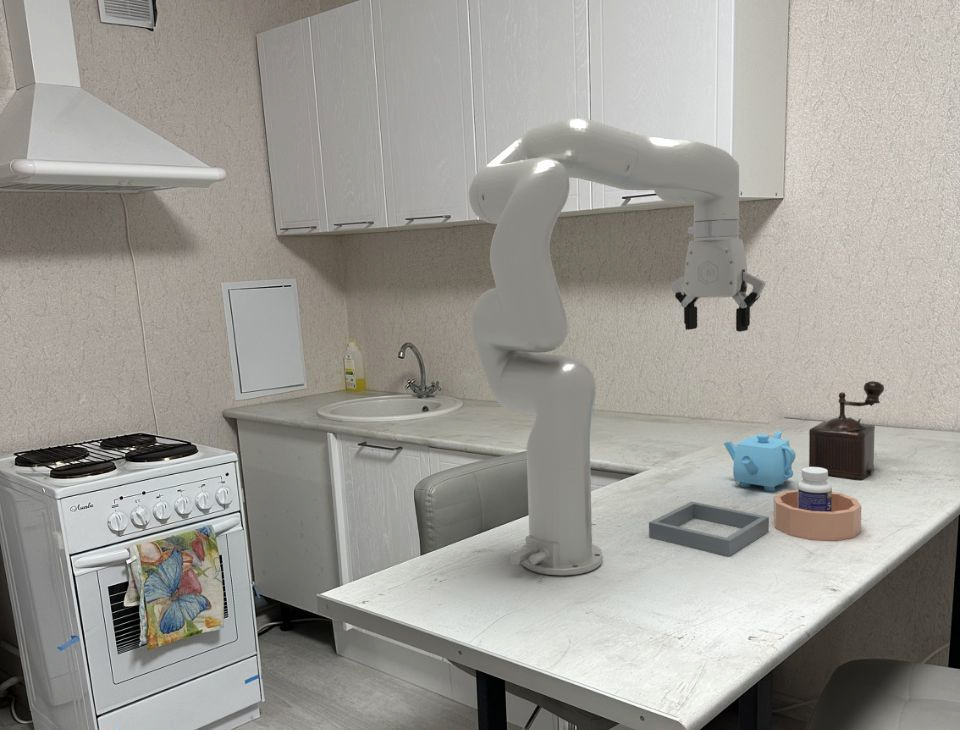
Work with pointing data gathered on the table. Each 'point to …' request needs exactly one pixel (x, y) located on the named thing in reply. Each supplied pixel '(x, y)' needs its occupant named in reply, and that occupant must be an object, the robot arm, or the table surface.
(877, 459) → the table surface
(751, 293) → the robot arm
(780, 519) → the bowl
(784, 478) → the teapot
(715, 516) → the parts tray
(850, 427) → the coffee grinder
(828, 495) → the pill bottle
